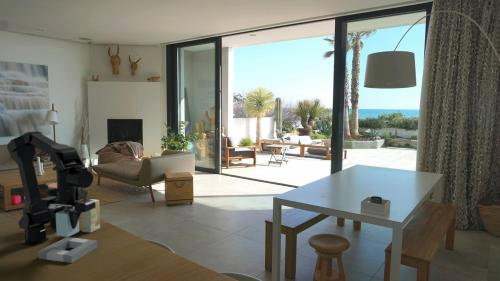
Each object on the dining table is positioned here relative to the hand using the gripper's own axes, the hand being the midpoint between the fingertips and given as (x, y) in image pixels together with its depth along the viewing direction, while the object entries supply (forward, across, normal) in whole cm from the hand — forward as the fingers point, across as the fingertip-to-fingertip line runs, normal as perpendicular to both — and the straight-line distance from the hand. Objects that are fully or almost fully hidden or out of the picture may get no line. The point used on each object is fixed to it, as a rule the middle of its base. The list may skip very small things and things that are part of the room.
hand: (68, 227), depth 122 cm
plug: (+2, 0, 0) cm, 2 cm away
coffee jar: (+9, +21, -22) cm, 32 cm away
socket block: (+9, 0, 0) cm, 9 cm away
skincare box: (+9, +7, -21) cm, 24 cm away
